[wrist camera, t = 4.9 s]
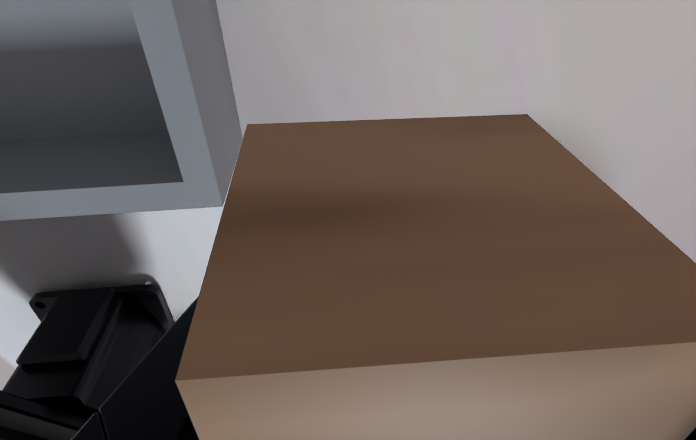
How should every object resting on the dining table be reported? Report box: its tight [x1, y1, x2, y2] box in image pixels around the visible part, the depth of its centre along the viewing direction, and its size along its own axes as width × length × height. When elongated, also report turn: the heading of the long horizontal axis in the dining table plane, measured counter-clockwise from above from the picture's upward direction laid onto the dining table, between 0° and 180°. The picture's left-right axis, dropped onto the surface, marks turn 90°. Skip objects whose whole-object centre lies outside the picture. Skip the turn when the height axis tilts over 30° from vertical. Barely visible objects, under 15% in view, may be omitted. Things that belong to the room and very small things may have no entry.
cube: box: [175, 114, 696, 440], centre depth 7 cm, size 5×5×5 cm
